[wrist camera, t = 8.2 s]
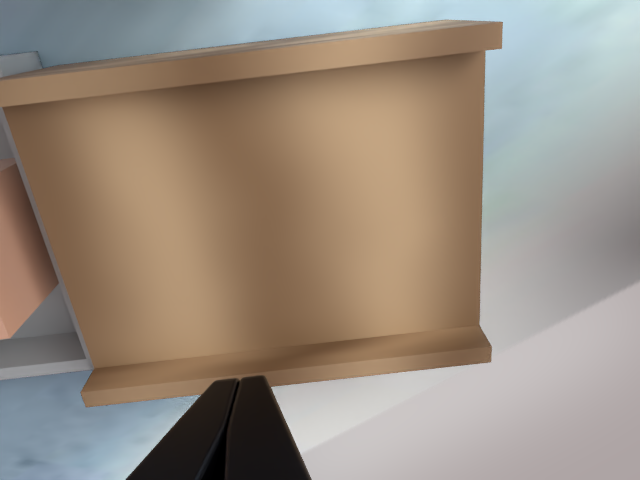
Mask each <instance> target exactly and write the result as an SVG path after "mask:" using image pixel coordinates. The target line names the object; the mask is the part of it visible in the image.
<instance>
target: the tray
mask: <svg viewBox="0 0 640 480" xmlns="http://www.w3.org/2000/svg"><path fill="white" fill-rule="evenodd" d="M38 69H43V68H42V65H41V61H40V58H39V55H38V52H37V51H36V52H27V53H19V54H10V55H2V56H0V78H1V77H5V76H10V75H15V74H19V73H24V72H29V71H33V70H38ZM8 158H15V161H16V164H17V166H18V169H19V172H20V175H21V178H22V180H23V183H24V186H25V189H26V192H27V194H28V197H29V200H30V203H31V206H32V208H33V211H34V214H35V217H36V220H37V222H38V225H39V228H40V231H41V234H42V236H43V239H44V242H45V245H46V248H47V250H48V253H49V256H50V259H51V262H52V264H53V267H54V270H55V273H56V276H57V278H58V281H59V284H58V285H57V286H56V287H55V288H54V289H53V291H52V292H51V293H50V294H49V295H48V296H47V297H46V298H45V300H44V301H43V302H42V303H41V304H40V305H39V306H38V307H37V309H36V310H35V311H34V312H33V313H32V314H31V315H30V316H29V318H28V319H27V320H26V321H25V322H24V323H23V324H22V325H21V327H20V328H19V329H18V330H17V331H16V332H15V333H14V334H13V336H12V337H11V338H9V339H0V380H5V379H14V378H23V377H32V376H41V375H50V374H59V373H68V372H77V371H85V370H94V366H93V364H92V361H91V358H90V355H89V352H88V349H87V347H86V344H85V341H84V338H83V335H82V332H81V330H80V327H79V324H78V321H77V318H76V315H75V312H74V310H73V307H72V304H71V301H70V298H69V295H68V293H67V290H66V287H65V284H64V281H63V278H62V276H61V273H60V270H59V267H58V264H57V261H56V259H55V256H54V253H53V250H52V247H51V244H50V242H49V239H48V236H47V233H46V230H45V227H44V225H43V222H42V219H41V216H40V213H39V210H38V207H37V205H36V202H35V199H34V196H33V193H32V190H31V188H30V185H29V182H28V179H27V176H26V173H25V171H24V168H23V165H22V162H21V159H20V156H19V154H18V151H17V148H16V145H15V142H14V139H13V137H12V134H11V131H10V128H9V125H8V122H7V120H6V117H5V114H4V111H3V108H2V107H0V159H8Z"/></svg>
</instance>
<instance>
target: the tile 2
mask: <svg viewBox="0 0 640 480" xmlns="http://www.w3.org/2000/svg"><path fill="white" fill-rule="evenodd" d="M58 284H59V281H58V278H57V276H56V273H55V270H54V267H53V264H52V262H51V259H50V256H49V253H48V250H47V248H46V245H45V242H44V239H43V236H42V234H41V231H40V228H39V225H38V222H37V220H36V217H35V214H34V211H33V208H32V206H31V203H30V200H29V197H28V194H27V192H26V189H25V186H24V183H23V180H22V178H21V175H20V172H19V169H18V166H17V164H16V161H15V158H8V159H0V339H9V338H11V337H12V336H13V334H14V333H15V332H16V331H17V330H18V329H19V328H20V327H21V325H22V324H23V323H24V322H25V321H26V320H27V319H28V318H29V316H30V315H31V314H32V313H33V312H34V311H35V310H36V309H37V307H38V306H39V305H40V304H41V303H42V302H43V301H44V300H45V298H46V297H47V296H48V295H49V294H50V293H51V292H52V291H53V289H54V288H55V287H56V286H57V285H58Z"/></svg>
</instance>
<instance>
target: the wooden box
mask: <svg viewBox="0 0 640 480" xmlns="http://www.w3.org/2000/svg"><path fill="white" fill-rule="evenodd" d="M502 26H503V22H490V21H465V20H439V21H431V22H422V23H414V24H405V25H397V26H388V27H379V28H371V29H362V30H354V31H345V32H337V33H328V34H320V35H311V36H303V37H294V38H286V39H277V40H269V41H260V42H252V43H243V44H235V45H226V46H218V47H209V48H201V49H192V50H184V51H175V52H167V53H158V54H150V55H141V56H133V57H124V58H116V59H107V60H99V61H90V62H82V63H73V64H65V65H57V66H52V67H47V68H43V69H38V70H33V71H29V72H24V73H19V74H15V75H10V76H5V77H1V78H0V107H2V108H3V111H4V114H5V117H6V120H7V122H8V125H9V128H10V131H11V134H12V137H13V139H14V142H15V145H16V148H17V151H18V154H19V156H20V159H21V162H22V165H23V168H24V171H25V173H26V176H27V179H28V182H29V185H30V188H31V190H32V193H33V196H34V199H35V202H36V205H37V207H38V210H39V213H40V216H41V219H42V222H43V225H44V227H45V230H46V233H47V236H48V239H49V242H50V244H51V247H52V250H53V253H54V256H55V259H56V261H57V264H58V267H59V270H60V273H61V276H62V278H63V281H64V284H65V287H66V290H67V293H68V295H69V298H70V301H71V304H72V307H73V310H74V312H75V315H76V318H77V321H78V324H79V327H80V330H81V332H82V335H83V338H84V341H85V344H86V347H87V349H88V352H89V355H90V358H91V361H92V364H93V366H94V370H93V371H92V373H91V375H90V377H89V378H88V380H87V382H86V384H85V385H84V387H83V389H82V391H81V392H80V393H81V396H82V398H83V401H84V404H85V406H86V407H93V406H102V405H111V404H120V403H129V402H138V401H147V400H156V399H165V398H174V397H183V396H192V395H201V394H203V393H204V391H205V390H206V389H207V388H208V387H209V386H210V385H211V384H212V383H213V382H214V381H215V380H220V379H229V378H238V379H239V380H240V379H241V378H243V377H247V376H256V375H264V376H265V377H266V378H267V380H268V383H269V385H270V387H273V386H282V385H291V384H300V383H309V382H318V381H327V380H336V379H345V378H353V377H362V376H371V375H380V374H389V373H398V372H407V371H416V370H425V369H434V368H443V367H452V366H461V365H470V364H479V363H488V362H491V352H492V346H491V345H490V343H489V341H488V339H487V338H486V336H485V334H484V332H483V331H482V329H481V327H480V326H479V318H480V272H481V226H482V179H483V133H484V86H485V50H494V49H502Z"/></svg>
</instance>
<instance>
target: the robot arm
mask: <svg viewBox="0 0 640 480" xmlns="http://www.w3.org/2000/svg"><path fill="white" fill-rule="evenodd" d="M126 480H312V479H311V477H310V475H309V473H308V470H307V468H306V466H305V464H304V461H303V459H302V457H301V455H300V452H299V450H298V448H297V446H296V443H295V441H294V439H293V437H292V434H291V432H290V430H289V428H288V425H287V423H286V421H285V419H284V416H283V414H282V412H281V410H280V407H279V405H278V403H277V401H276V398H275V396H274V394H273V392H272V389H271V387H270V385H269V383H268V380H267V378H266V377H265V376H264V375H256V376H247V377H243V378H241V379H240V380H239V379H238V378H229V379H220V380H215V381H214V382H213V383H212V384H211V385H210V386H209V387H208V388H207V389H206V390H205V391H204V393H203V394H202V395H201V396H200V397H199V398H198V399H197V400H196V401H195V403H194V404H193V405H192V406H191V407H190V408H189V409H188V410H187V412H186V413H185V414H184V415H183V416H182V417H181V418H180V419H179V420H178V422H177V423H176V424H175V425H174V426H173V427H172V428H171V429H170V431H169V432H168V433H167V434H166V435H165V436H164V437H163V438H162V440H161V441H160V442H159V443H158V444H157V445H156V446H155V447H154V448H153V450H152V451H151V452H150V453H149V454H148V455H147V456H146V457H145V459H144V460H143V461H142V462H141V463H140V464H139V465H138V466H137V467H136V469H135V470H134V471H133V472H132V473H131V474H130V475H129V476H128V478H127V479H126Z"/></svg>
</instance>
